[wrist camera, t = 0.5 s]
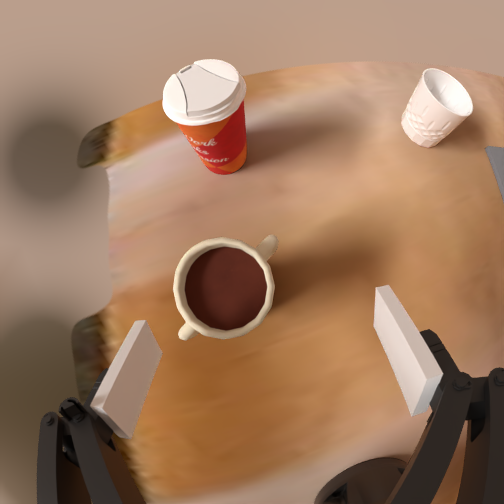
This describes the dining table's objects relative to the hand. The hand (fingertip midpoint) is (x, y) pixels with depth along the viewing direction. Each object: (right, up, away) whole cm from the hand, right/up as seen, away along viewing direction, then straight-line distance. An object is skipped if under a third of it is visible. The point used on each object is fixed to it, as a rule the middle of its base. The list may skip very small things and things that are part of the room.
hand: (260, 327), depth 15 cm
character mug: (-2, 0, +17) cm, 17 cm away
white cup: (+25, +22, +18) cm, 38 cm away
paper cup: (-4, +16, +20) cm, 26 cm away
